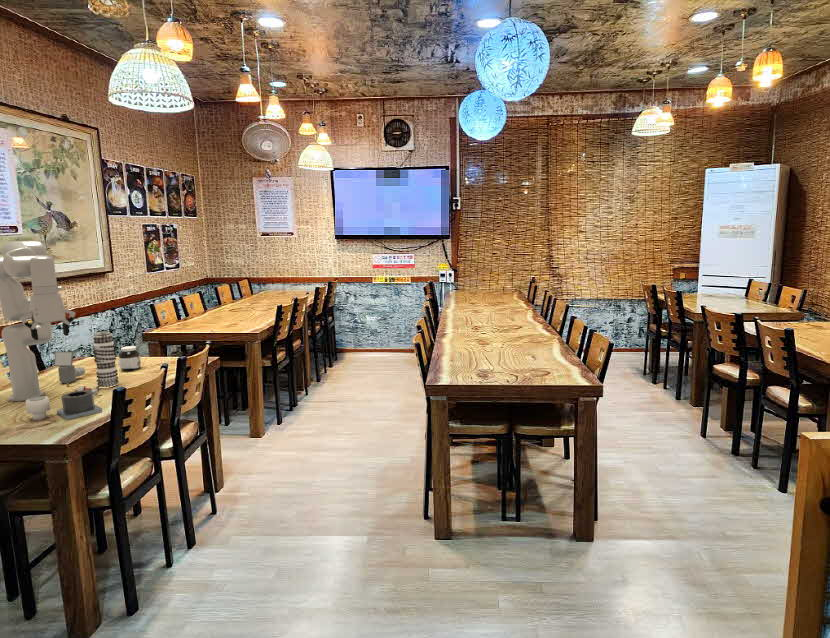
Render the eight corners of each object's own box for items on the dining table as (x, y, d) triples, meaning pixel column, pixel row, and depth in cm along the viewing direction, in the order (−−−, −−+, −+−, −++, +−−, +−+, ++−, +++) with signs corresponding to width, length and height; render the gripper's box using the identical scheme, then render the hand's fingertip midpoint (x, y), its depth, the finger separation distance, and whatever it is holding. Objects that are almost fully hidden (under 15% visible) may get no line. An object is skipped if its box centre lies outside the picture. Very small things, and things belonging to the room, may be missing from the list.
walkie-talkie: (92, 401, 230) (101, 389, 249) (91, 391, 229) (100, 379, 248) (68, 404, 227) (79, 391, 246) (67, 394, 226) (77, 381, 245)
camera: (90, 377, 268) (86, 347, 265) (73, 384, 256) (69, 352, 254) (73, 377, 269) (69, 347, 266) (55, 384, 257) (51, 352, 255)
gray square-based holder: (57, 413, 214) (54, 394, 213) (90, 405, 223) (88, 387, 222) (67, 420, 206) (65, 400, 205) (102, 411, 215) (100, 393, 214)
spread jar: (132, 372, 277) (130, 349, 275) (111, 372, 278) (108, 349, 276) (145, 366, 288) (143, 344, 287) (125, 366, 289) (122, 344, 287)
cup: (25, 418, 209) (23, 398, 208) (47, 413, 214) (45, 394, 213) (31, 422, 204) (28, 402, 203) (53, 417, 209) (51, 397, 208)
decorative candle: (123, 383, 256) (118, 330, 252) (112, 388, 247) (106, 333, 243) (104, 383, 257) (98, 330, 253) (92, 389, 247) (86, 334, 243)
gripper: (68, 288, 209) (74, 332, 211) (13, 292, 196) (20, 340, 199) (75, 289, 204) (81, 335, 206) (19, 293, 191) (26, 342, 194)
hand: (51, 337), depth 203 cm, fingers open, 9 cm apart
